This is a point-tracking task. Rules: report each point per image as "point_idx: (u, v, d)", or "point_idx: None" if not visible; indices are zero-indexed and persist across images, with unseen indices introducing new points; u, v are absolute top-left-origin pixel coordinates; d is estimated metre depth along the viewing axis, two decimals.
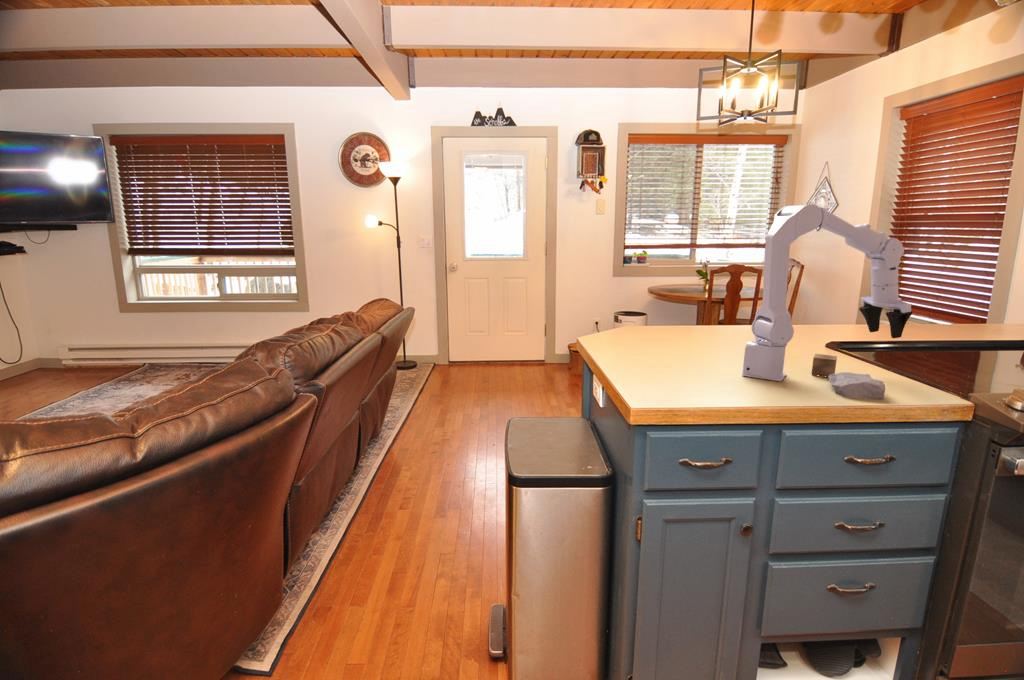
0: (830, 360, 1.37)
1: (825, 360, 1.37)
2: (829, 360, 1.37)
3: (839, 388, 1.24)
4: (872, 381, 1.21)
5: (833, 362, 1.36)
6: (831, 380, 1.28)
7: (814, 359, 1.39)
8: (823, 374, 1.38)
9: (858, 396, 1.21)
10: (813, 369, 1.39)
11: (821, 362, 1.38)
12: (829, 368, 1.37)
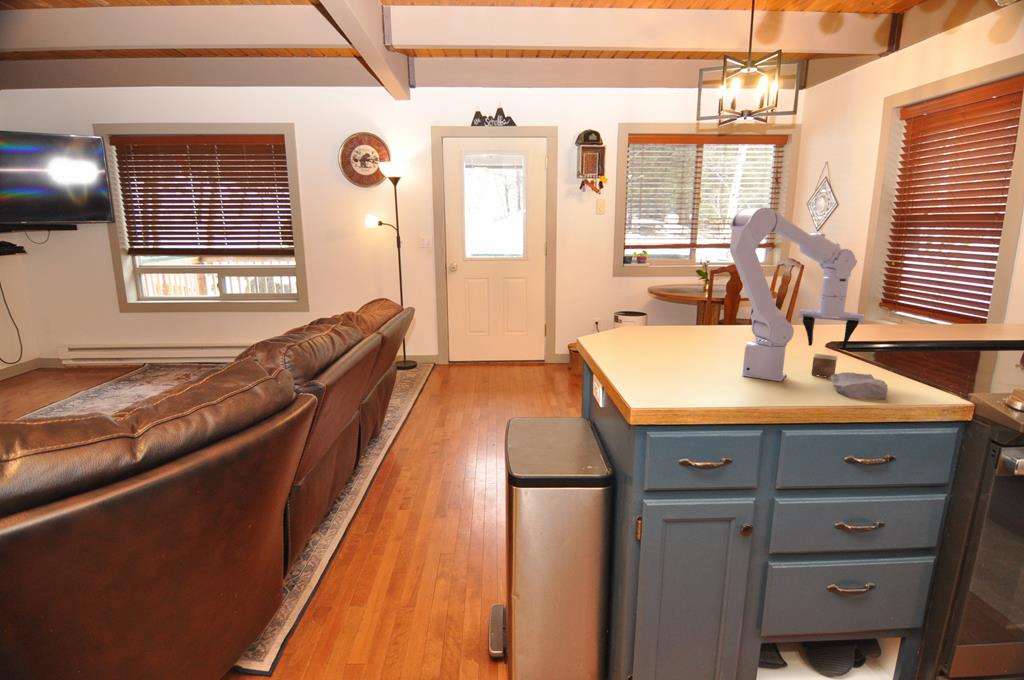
0: (830, 360, 1.37)
1: (825, 360, 1.37)
2: (829, 360, 1.37)
3: (841, 388, 1.23)
4: (874, 381, 1.21)
5: (833, 362, 1.36)
6: (833, 380, 1.28)
7: (814, 359, 1.39)
8: (823, 374, 1.38)
9: (860, 396, 1.21)
10: (813, 369, 1.39)
11: (821, 362, 1.38)
12: (829, 368, 1.37)
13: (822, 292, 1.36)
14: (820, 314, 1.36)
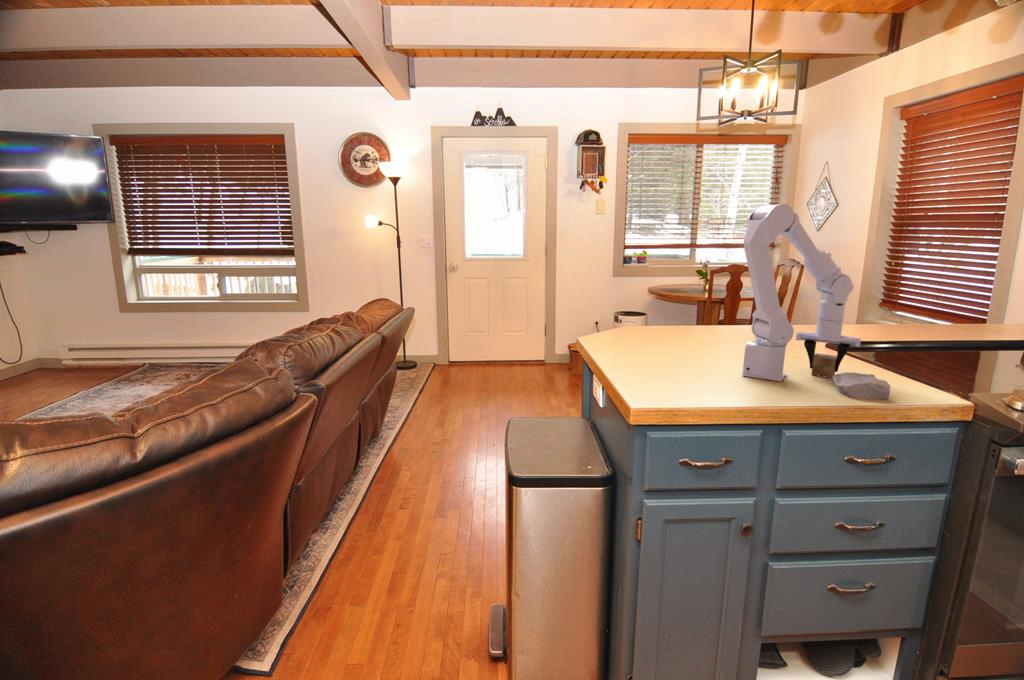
0: (830, 360, 1.37)
1: (825, 360, 1.37)
2: (829, 360, 1.37)
3: (844, 388, 1.23)
4: (877, 381, 1.21)
5: (833, 362, 1.36)
6: (836, 380, 1.28)
7: (814, 359, 1.39)
8: (823, 374, 1.38)
9: (863, 396, 1.21)
10: (813, 369, 1.39)
11: (821, 362, 1.38)
12: (829, 368, 1.37)
13: (819, 316, 1.37)
14: (817, 337, 1.37)
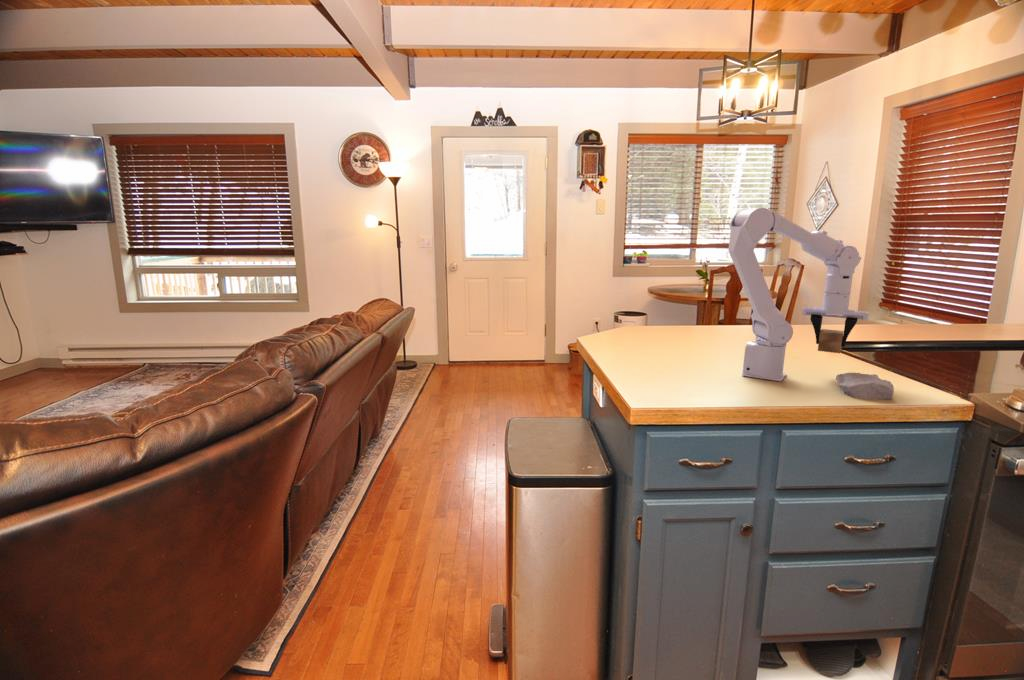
0: (837, 334, 1.34)
1: (832, 334, 1.35)
2: (836, 334, 1.34)
3: (847, 388, 1.23)
4: (880, 381, 1.21)
5: (840, 336, 1.34)
6: (839, 380, 1.28)
7: (821, 334, 1.36)
8: (830, 349, 1.36)
9: (866, 396, 1.21)
10: (820, 344, 1.37)
11: (827, 337, 1.35)
12: (836, 343, 1.35)
13: (825, 289, 1.35)
14: (824, 311, 1.35)
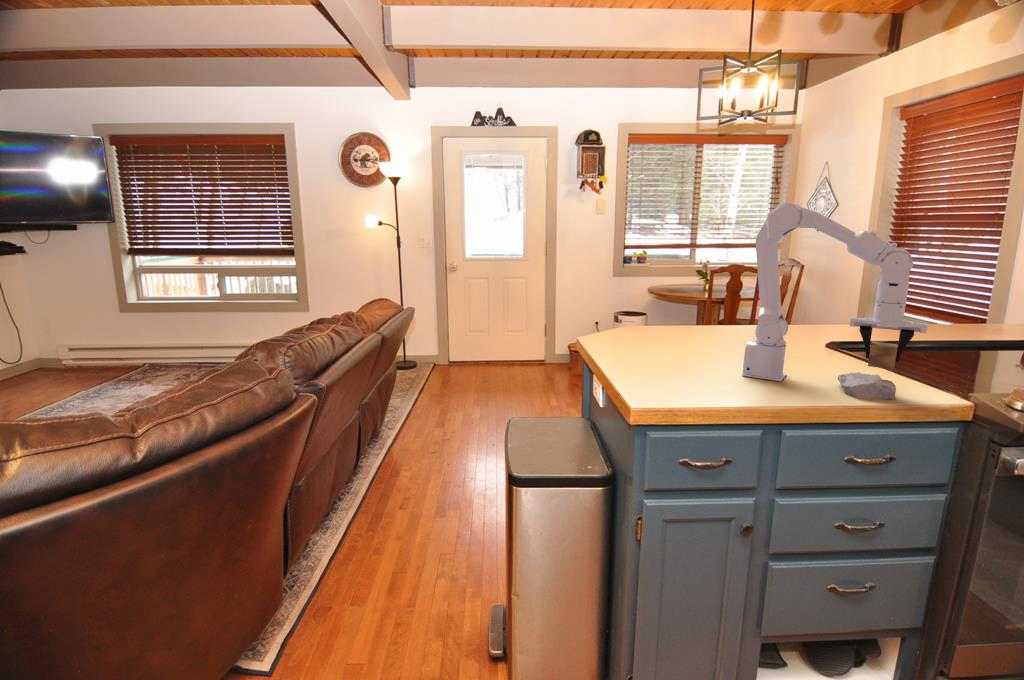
0: (891, 348, 1.20)
1: (885, 348, 1.21)
2: (890, 348, 1.20)
3: (849, 389, 1.23)
4: (883, 382, 1.21)
5: (894, 350, 1.20)
6: (841, 381, 1.27)
7: (872, 347, 1.22)
8: (882, 364, 1.22)
9: (869, 397, 1.21)
10: (870, 359, 1.23)
11: (879, 351, 1.22)
12: (889, 358, 1.21)
13: (876, 297, 1.22)
14: (875, 323, 1.21)
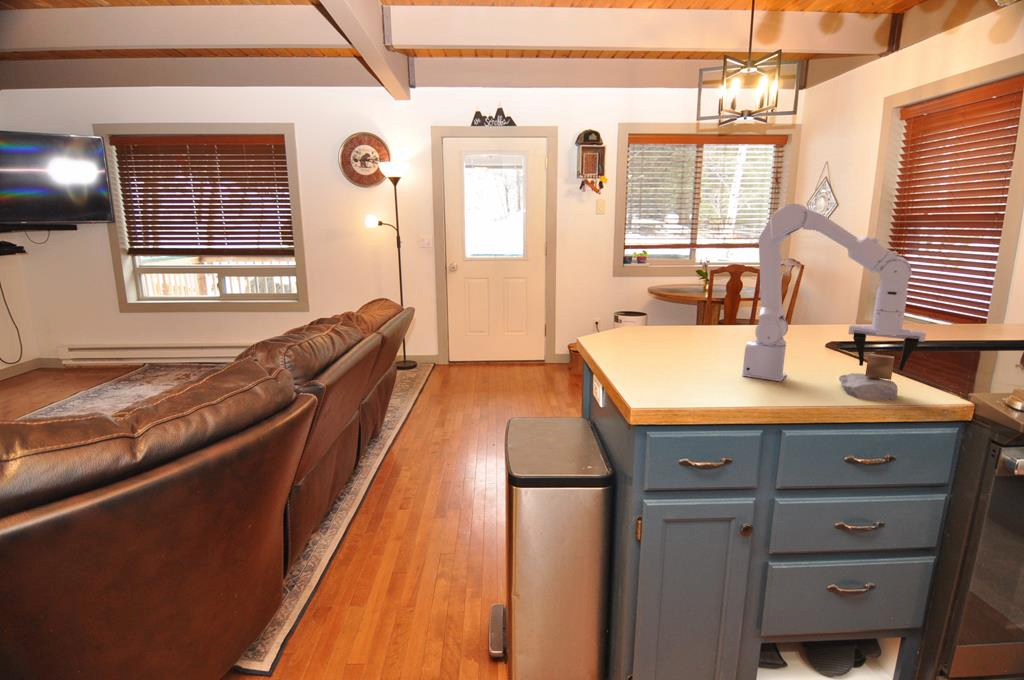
0: (888, 358, 1.21)
1: (882, 358, 1.22)
2: (887, 358, 1.22)
3: (851, 389, 1.23)
4: (884, 382, 1.21)
5: (891, 361, 1.21)
6: (842, 381, 1.27)
7: (869, 357, 1.24)
8: (879, 374, 1.23)
9: (870, 397, 1.21)
10: (867, 369, 1.24)
11: (877, 361, 1.23)
12: (886, 368, 1.22)
13: (875, 305, 1.23)
14: (874, 331, 1.21)
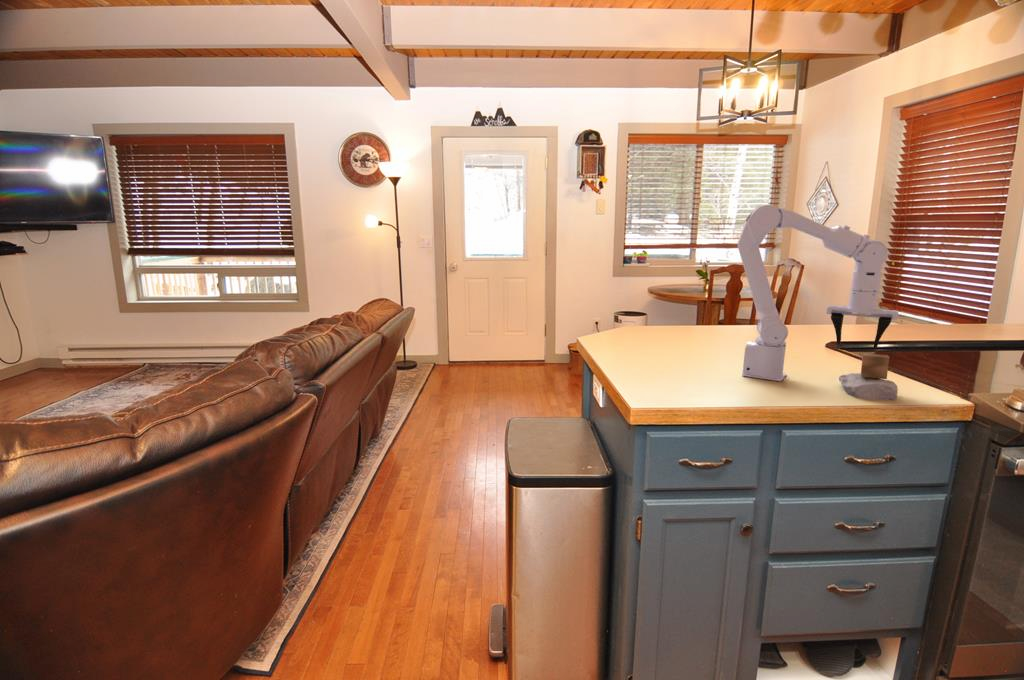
0: (883, 358, 1.22)
1: (877, 358, 1.22)
2: (882, 358, 1.22)
3: (851, 389, 1.23)
4: (884, 382, 1.20)
5: (886, 360, 1.21)
6: (842, 381, 1.27)
7: (864, 357, 1.24)
8: (875, 374, 1.23)
9: (871, 397, 1.21)
10: (863, 369, 1.24)
11: (872, 361, 1.23)
12: (881, 367, 1.22)
13: (851, 286, 1.29)
14: (850, 310, 1.28)
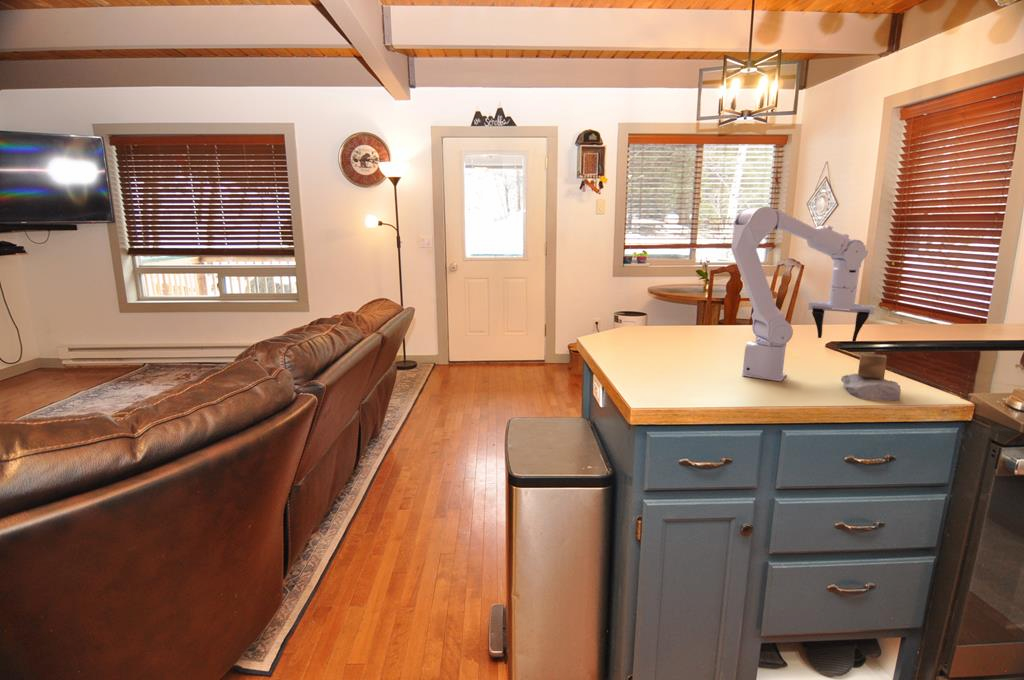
0: (880, 358, 1.22)
1: (875, 358, 1.23)
2: (879, 358, 1.22)
3: (854, 390, 1.22)
4: (887, 382, 1.20)
5: (884, 360, 1.22)
6: (845, 382, 1.27)
7: (862, 357, 1.24)
8: (872, 374, 1.23)
9: (874, 398, 1.20)
10: (861, 368, 1.25)
11: (869, 360, 1.23)
12: (879, 367, 1.23)
13: (832, 283, 1.34)
14: (830, 306, 1.34)
